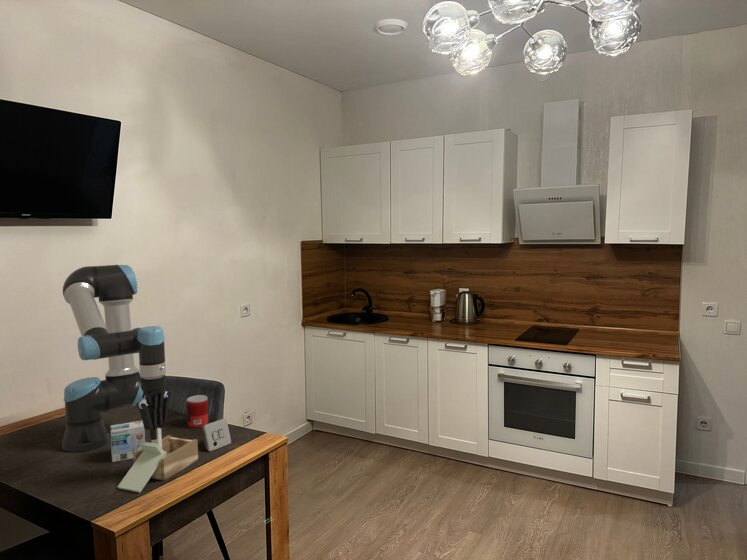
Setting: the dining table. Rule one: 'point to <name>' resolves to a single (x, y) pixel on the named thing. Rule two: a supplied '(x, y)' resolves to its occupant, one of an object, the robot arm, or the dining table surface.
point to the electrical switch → (216, 434)
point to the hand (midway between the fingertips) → (157, 447)
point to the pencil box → (174, 456)
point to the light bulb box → (126, 440)
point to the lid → (143, 467)
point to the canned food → (197, 411)
